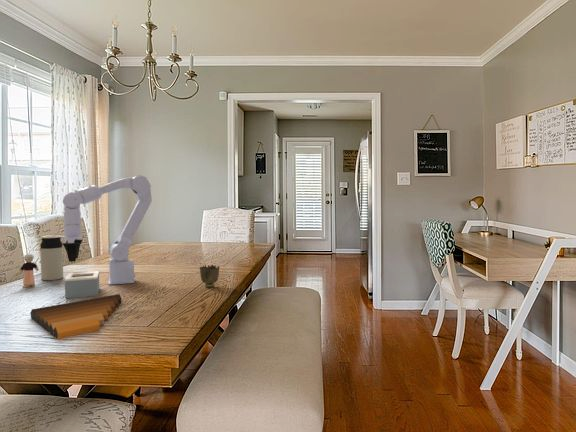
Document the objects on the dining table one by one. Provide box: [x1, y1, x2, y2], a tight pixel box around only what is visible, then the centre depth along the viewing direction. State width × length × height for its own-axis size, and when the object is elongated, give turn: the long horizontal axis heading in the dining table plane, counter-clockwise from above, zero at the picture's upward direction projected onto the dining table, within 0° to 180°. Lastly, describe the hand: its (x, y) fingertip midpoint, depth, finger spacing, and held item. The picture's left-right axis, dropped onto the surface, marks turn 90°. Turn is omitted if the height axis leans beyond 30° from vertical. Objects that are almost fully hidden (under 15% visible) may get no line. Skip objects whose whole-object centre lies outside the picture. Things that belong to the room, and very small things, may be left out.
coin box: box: [64, 270, 100, 299], centre depth 146 cm, size 10×12×6 cm
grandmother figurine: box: [18, 253, 40, 288], centre depth 157 cm, size 8×4×13 cm, turn 168°
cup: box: [199, 264, 221, 289], centre depth 155 cm, size 8×7×8 cm
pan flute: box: [29, 293, 123, 340], centre depth 117 cm, size 25×3×25 cm
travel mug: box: [39, 234, 64, 281], centre depth 170 cm, size 8×8×18 cm
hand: (73, 259), depth 155 cm, fingers open, 7 cm apart
